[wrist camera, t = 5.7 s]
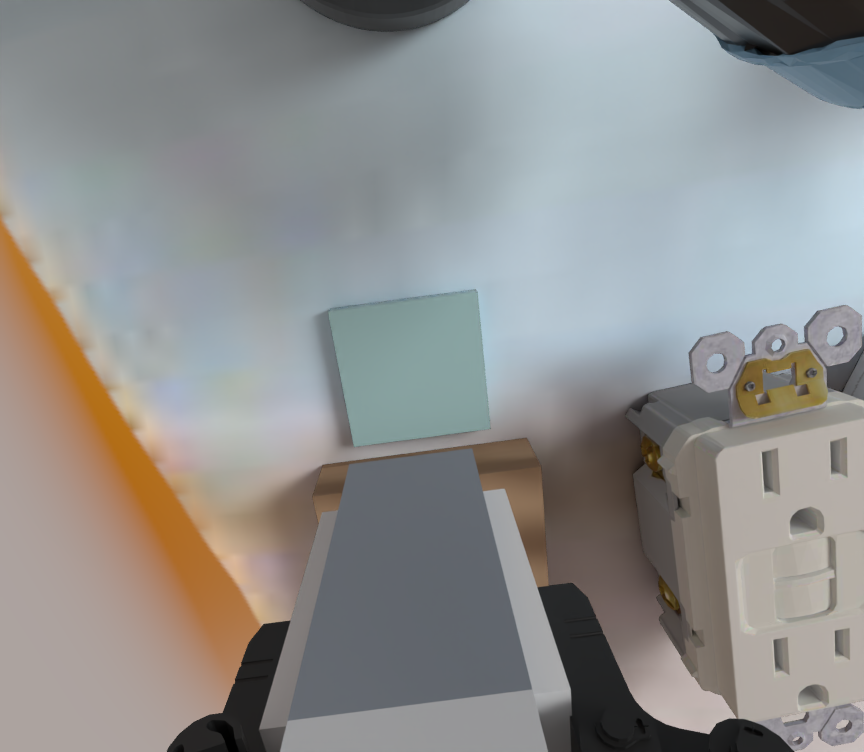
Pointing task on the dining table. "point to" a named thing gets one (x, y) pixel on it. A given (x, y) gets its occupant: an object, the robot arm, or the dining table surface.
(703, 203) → the dining table surface
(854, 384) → the light bulb box
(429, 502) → the plug
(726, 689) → the electrical outlet
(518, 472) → the socket board
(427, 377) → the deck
